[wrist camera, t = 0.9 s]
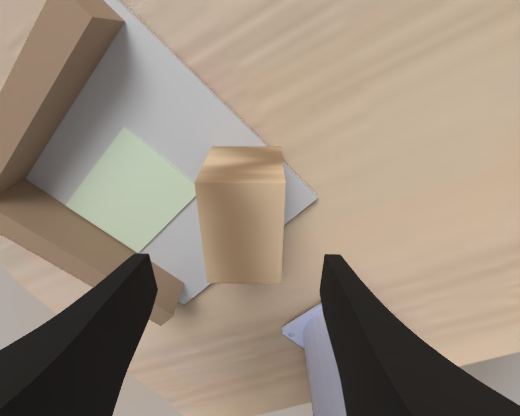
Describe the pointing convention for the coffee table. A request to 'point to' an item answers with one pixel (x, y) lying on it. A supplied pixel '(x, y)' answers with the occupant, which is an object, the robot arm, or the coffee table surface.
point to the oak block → (242, 214)
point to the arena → (112, 150)
